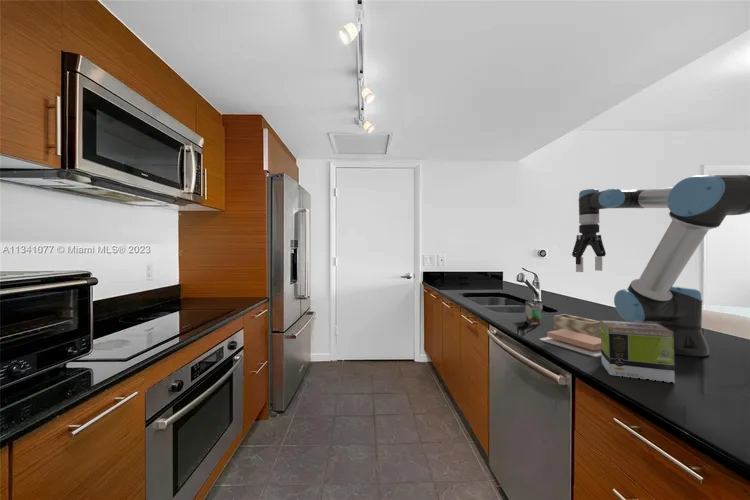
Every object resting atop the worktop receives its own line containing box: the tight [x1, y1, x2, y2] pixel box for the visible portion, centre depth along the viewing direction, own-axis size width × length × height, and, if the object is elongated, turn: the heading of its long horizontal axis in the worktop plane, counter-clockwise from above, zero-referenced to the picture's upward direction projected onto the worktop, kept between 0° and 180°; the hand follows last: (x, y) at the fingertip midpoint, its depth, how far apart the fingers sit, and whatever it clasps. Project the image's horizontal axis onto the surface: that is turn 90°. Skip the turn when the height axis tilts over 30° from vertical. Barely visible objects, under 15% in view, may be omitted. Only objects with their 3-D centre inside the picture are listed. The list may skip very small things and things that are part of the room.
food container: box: [525, 300, 544, 327], centre depth 152 cm, size 12×6×10 cm, turn 168°
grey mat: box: [539, 336, 601, 358], centre depth 119 cm, size 22×14×1 cm, turn 24°
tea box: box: [600, 319, 676, 384], centre depth 93 cm, size 15×10×15 cm
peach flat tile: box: [546, 329, 601, 350], centre depth 119 cm, size 18×10×3 cm, turn 24°
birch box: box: [553, 313, 601, 338], centre depth 132 cm, size 16×7×7 cm, turn 24°
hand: (589, 271), depth 139 cm, fingers open, 13 cm apart
